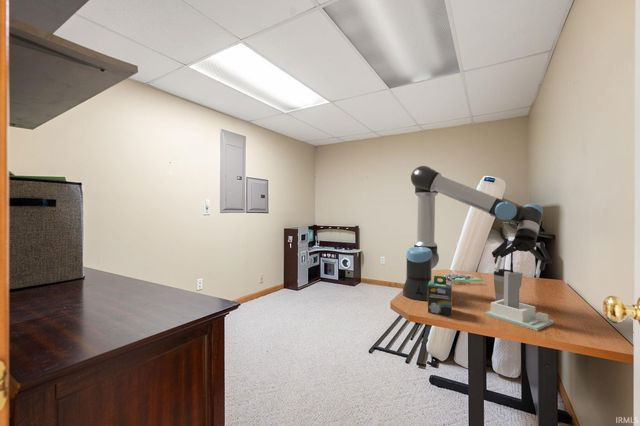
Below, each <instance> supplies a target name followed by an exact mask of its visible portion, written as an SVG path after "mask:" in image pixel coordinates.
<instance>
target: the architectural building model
mask: <svg viewBox="0 0 640 426" xmlns="http://www.w3.org/2000/svg"><path fill="white" fill-rule="evenodd" d="M484 316H487V317H490V318H494V319H497V320H500V321H503V322H507V323H511V324H513V325H515V326H516V325H517V326H520V327H522V328H527V329H529V328H530V330H532V329H533V331H536V332H538V331H540V330H542V329H544V327H545V328H547V327H549V326H552V325H553V324H554V323H555V320H553V319H549V314H548V313H544V312H541V311H539V312H536V305H535V306H534V305H531V304H527V303H523V302H519V309H516V308H512V307H508V306H505V305H504V299H502V300H498V301H496V300H495V301H492V302H490V310H488V311H485V312H484ZM546 326H547V327H546Z"/></svg>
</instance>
